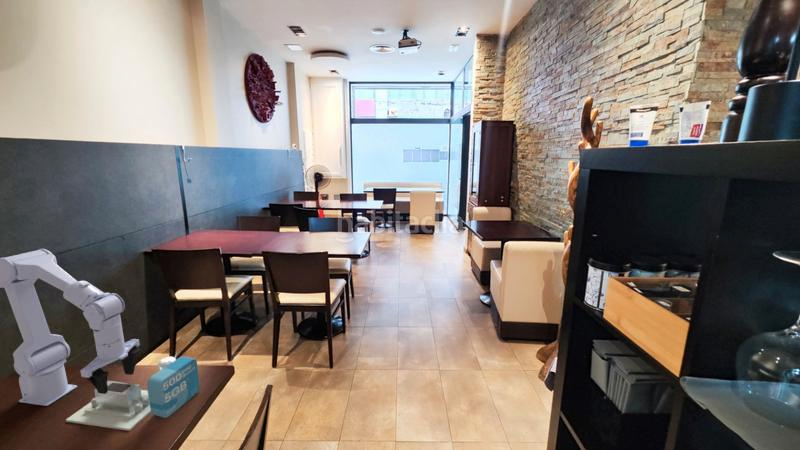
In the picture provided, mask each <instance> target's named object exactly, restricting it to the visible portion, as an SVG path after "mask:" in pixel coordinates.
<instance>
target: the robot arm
mask: <svg viewBox="0 0 800 450" xmlns="http://www.w3.org/2000/svg"><path fill="white" fill-rule="evenodd" d="M38 279H39V280H40V281H41V280H42V281H43V282H45V283H47V284H49V285H51V286H53V287H55V288H57V289H58V290H61V291H62V292H63V294H62V296H63V297H62V298H63V299H65V300H66V301H68V302H69V303H71V304H72V305H74V306H76V307H77V308H78V309H80V310H82V314H83V316H84V318H85V320H86V322H87V323H88V325H89V328H90V330H92V332H93V338H94V344H95V348H96V349H95V350H96V354H97V356H96V357H95V358H94V359H93V360H92V361H90V362H89V363H88V364H87V365H86V366H85V367H83V368H82V369H81V370H80V376H81V378H85V379H86V380H88V382H89V383H91V384H92V385H93V387H94V389H95V390H96V389H97V391H98V393H102V394H106V393H107V392H108V386H107V381H108V376H109V371H105V370H104V369H102V368H104V367H105V366H107V365H108V364H112V363H114V362H116V361H118V360H121V363H122V368H123V372H124V375H130V376H132V375H133V374H134V372H135V369H136V368H135V367H136V363H137V360H138V357H139V356H140V354H141V352H142V351H141V347H140V345H141V344H140V339H139V338H138V339H136V338H132V339H130V340H128V341H126V342H125V337H124V332H123V325H122V324H123V323H122V318H121V313H123V312H124V311H125V308H126V305H125V300H124V299H123V298H122V297H121V296H120V295H119V294H117V293H114V292H113V293H110V292H104V291H102V290H101V289H99V288H98V287H96V286H94V285H93V284H91V282H89V281H86V280H79V281H78V280H77V279H76V278H74V277H73V276H72V275H71V274H69V273H68V272H67V271H66V270H64V269H63V268H62V267H61V266H60V265H58V260H57V258H56V256H55V255H54V254H53V253H52V252H51V251H49V250H48V249H46V248H39V249H36V250H33V251H28V252H23V253H20V254H16V255H15V254H13V255H10V256H6V257H0V288H3V289H4V290H5V293H6V296H7V299H8V301H9V304H10V307H11V310H12V312H13V315H14V318H15V321H16V323H17V326H18V329H19V332H20V333H21V337H22V339H23V342H22V343H21V344H20V345H19V346H18V347H17V348H16V349H15V350H14V351H13V353H12V356H13V361H14V362H13V367H14V370H15V372H16V373H17V374H18V375H19V378H18V384H19V388H20V392H21V396H22V398H21V399H19V400H18V402H19V403H24V404H31V405H35V406H36V405H37V406H38V405H39V406H45V407H47V406H49V405H52V404H54V403H55V402H56V401H57V400H59V399H60V398H62V397H64V396H65V395H67V394H69V393H70V392H71V391H73V390H74V389H76V388H78V385H76V384H70V383H69V384H68V378H67V373H66V368H65V363H67V358H69V357H70V355H71V347H70V345H69V344H68V343H67V342H66V341H65V338H64V336H63V335H60V334H54V333H51V331H50V328H49V325H48V323H47V320H46V317H45V313H44V311H43V307H42V305H41V302H40V299H39V297H38V294H37V291H36V287H35V285H34V284H35V282H36V281H38Z"/></svg>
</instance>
